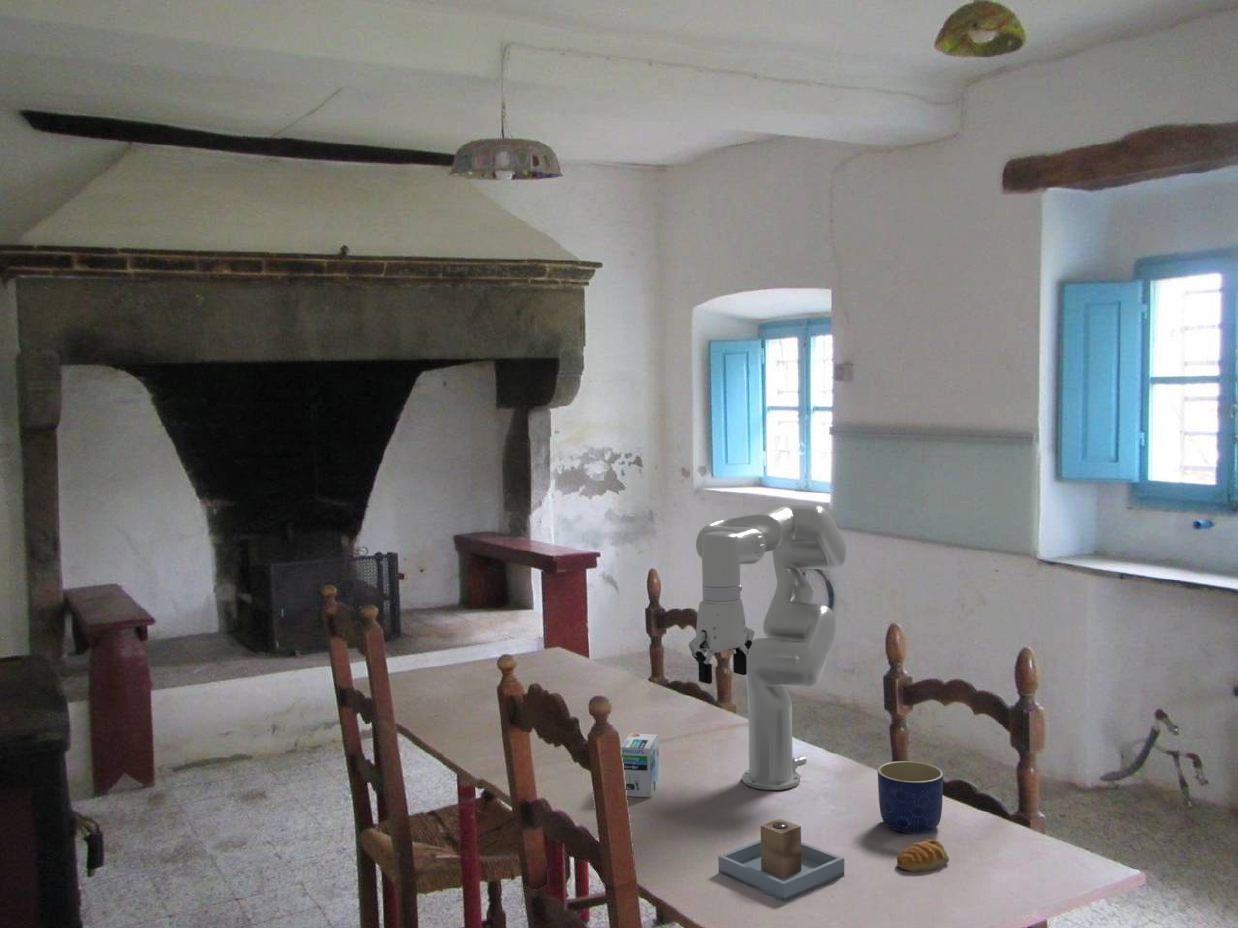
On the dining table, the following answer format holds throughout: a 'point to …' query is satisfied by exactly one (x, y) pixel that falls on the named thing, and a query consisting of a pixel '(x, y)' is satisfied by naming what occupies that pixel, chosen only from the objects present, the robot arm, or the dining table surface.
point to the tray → (748, 871)
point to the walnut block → (780, 848)
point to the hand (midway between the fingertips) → (723, 678)
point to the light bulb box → (641, 764)
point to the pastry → (923, 856)
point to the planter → (910, 796)
